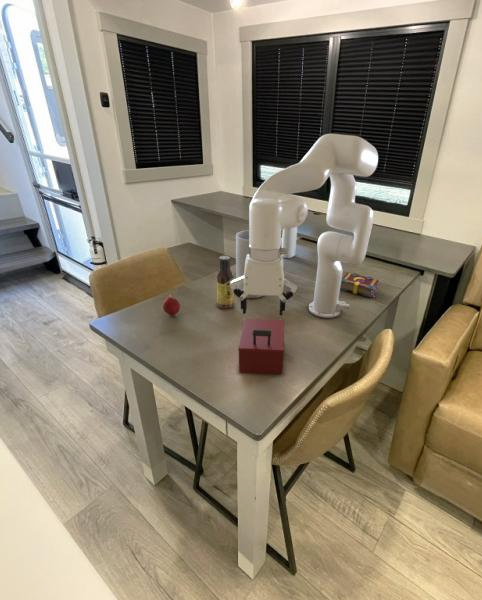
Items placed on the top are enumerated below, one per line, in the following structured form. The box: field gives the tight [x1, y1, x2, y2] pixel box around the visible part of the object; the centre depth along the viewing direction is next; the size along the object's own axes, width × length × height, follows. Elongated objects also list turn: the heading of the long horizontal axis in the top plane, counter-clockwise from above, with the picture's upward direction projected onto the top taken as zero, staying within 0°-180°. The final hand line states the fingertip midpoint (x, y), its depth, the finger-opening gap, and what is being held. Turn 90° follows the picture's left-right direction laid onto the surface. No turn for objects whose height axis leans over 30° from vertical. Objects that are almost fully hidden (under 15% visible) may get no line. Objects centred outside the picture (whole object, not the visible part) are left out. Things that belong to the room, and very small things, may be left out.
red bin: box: [238, 350, 285, 375], centre depth 101 cm, size 15×13×9 cm
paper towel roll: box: [281, 226, 298, 259], centre depth 173 cm, size 7×6×21 cm
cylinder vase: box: [235, 229, 264, 299], centre depth 134 cm, size 12×12×25 cm
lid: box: [237, 317, 285, 353], centre depth 97 cm, size 16×13×6 cm
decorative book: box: [340, 272, 380, 299], centre depth 148 cm, size 11×16×5 cm
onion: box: [162, 294, 181, 316], centre depth 119 cm, size 6×6×8 cm
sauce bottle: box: [216, 255, 235, 309], centre depth 124 cm, size 6×6×20 cm
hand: (262, 311), depth 88 cm, fingers open, 9 cm apart
